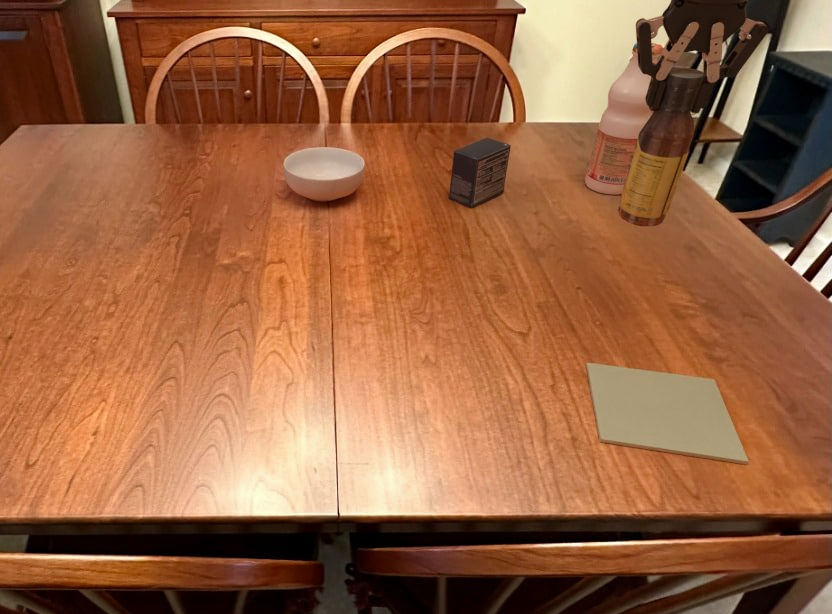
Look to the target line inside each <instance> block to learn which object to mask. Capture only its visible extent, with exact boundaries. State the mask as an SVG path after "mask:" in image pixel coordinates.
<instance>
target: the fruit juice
mask: <svg viewBox="0 0 832 614" xmlns="http://www.w3.org/2000/svg"><path fill="white" fill-rule="evenodd" d="M651 44H652V62H653V63H655V64H656V63H657V61H658V59H659V58H660V56H661V53H662V50H663V48H664V47H663V45H662V44H660V43H655V42H651ZM631 54H632V56H631V59H630V60H629V63H628V64H627V66H626V67H625V69H624V70H623V72H622V73H621V74H620V76H618V78H617V79H616V80H615V81H614V82H613V83H612V84H611V85H610V88H609V89H608V94H607V107H606V109H605V110H604V112H603V113H602V115H601V118H600V120H599V124H598V128H597V132H596V135H595V139H594V143H593V146H592V150H591V154H590V158H589V162H588V165H587V169H586V173H585V176H584V184H585V186H586V187H587V188H588V189H590V190H592V191H594V192H596V193H600V194H605V195H617V196H618V195H622V192H623V188H624V184H625V181H626V178H627V174H628V171H629V167H630V163H631V160H632V156H633V153H634V150H635V146H636V142H637V139H638V136H639V133H640V131H641V130H642V128H643V127H644V125H645V124H646V122H647V121H648V120H649V118H650V117H651V115H652V114H653V112H654V111H651V110H650V109H649V106H648V105H647V103H646V100H645V97H646V94H647V91H648V87H649V84H650V80H651V76H649V75H647V74H643V73H642V72H641V70H640V68H639V67H638V54H637V42H636V43H634V45H633V47H632V50H631Z"/></svg>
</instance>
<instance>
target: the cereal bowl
mask: <svg viewBox="0 0 832 614" xmlns="http://www.w3.org/2000/svg"><path fill="white" fill-rule="evenodd" d="M282 165H283V167H282V168H283V169H282V171H283V176H284V181H285V182H286V184H287V185H288V187H289V188H290V189H291V190H292V191H293V192H294V193H296V194H297V195H299V196H301V197H304V198H308V200H312V201H314V202H315V201H316V202H323V203H324V202H332V201H335V200H338V199H340V198H341V199H342V198H344V197H347V196H350V195H352V194H353V193H354V192H355V191H356V190H357V189H359V187H360V186H361V184H362V183H363V181H364V178H365V170H366V163H365V160H364V158H363V157H362V156H361V155H360V154H358V153H356V152H354V151H353V150H348V149H344V148H338V147H332V146H331V147H330V146H318V147H317V146H316V147H309V148H303V149H300V150H296V151H294V152H292V153H289V154H288V156H286V157H285V158H284V160H283V164H282Z"/></svg>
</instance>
